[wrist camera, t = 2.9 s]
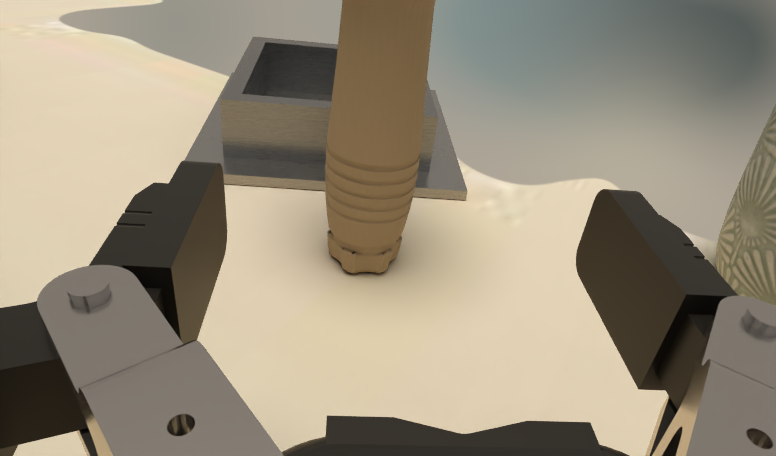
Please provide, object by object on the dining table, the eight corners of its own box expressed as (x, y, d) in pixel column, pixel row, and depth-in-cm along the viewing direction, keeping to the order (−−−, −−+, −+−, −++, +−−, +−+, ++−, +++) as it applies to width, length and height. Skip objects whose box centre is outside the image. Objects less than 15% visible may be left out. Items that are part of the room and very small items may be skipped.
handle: (328, 214, 30) (347, -117, 21) (442, 253, 28) (510, -92, 20) (277, 261, 26) (276, -118, 18) (405, 310, 24) (470, -87, 16)
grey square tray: (179, 180, 31) (171, 110, 29) (232, 80, 44) (229, 26, 42) (465, 200, 33) (479, 134, 30) (434, 97, 46) (441, 46, 44)
